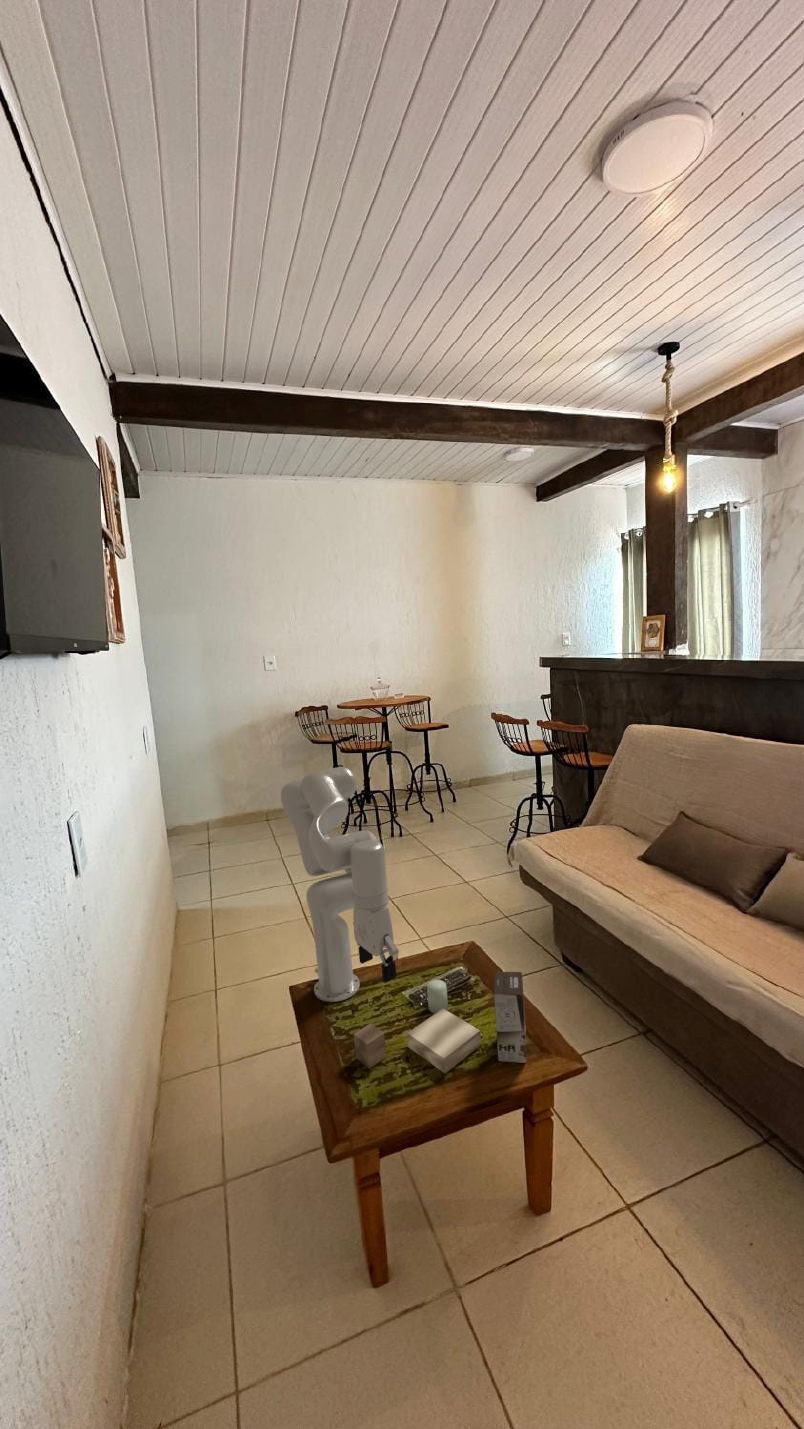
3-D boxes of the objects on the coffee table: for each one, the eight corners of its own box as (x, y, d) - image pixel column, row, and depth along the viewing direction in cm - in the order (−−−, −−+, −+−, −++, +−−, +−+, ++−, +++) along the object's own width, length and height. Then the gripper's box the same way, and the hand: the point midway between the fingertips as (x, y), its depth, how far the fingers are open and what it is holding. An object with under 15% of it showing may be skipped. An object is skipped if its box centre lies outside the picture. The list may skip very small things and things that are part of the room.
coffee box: (527, 1063, 122) (523, 995, 120) (497, 1061, 124) (493, 994, 122) (526, 1035, 131) (522, 971, 129) (499, 1033, 133) (494, 970, 131)
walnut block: (356, 1058, 129) (353, 1034, 128) (373, 1046, 132) (370, 1023, 131) (369, 1069, 125) (367, 1044, 124) (386, 1057, 128) (384, 1033, 127)
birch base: (408, 1048, 131) (407, 1033, 130) (444, 1023, 138) (443, 1008, 138) (445, 1075, 122) (444, 1058, 121) (481, 1046, 129) (480, 1030, 129)
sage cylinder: (424, 1007, 144) (422, 986, 144) (438, 998, 148) (436, 977, 147) (438, 1016, 141) (436, 994, 140) (452, 1006, 144) (450, 985, 143)
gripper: (337, 890, 128) (344, 960, 130) (377, 917, 113) (384, 995, 115) (365, 880, 132) (371, 948, 134) (407, 905, 118) (413, 980, 120)
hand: (377, 970), depth 125 cm, fingers open, 9 cm apart
